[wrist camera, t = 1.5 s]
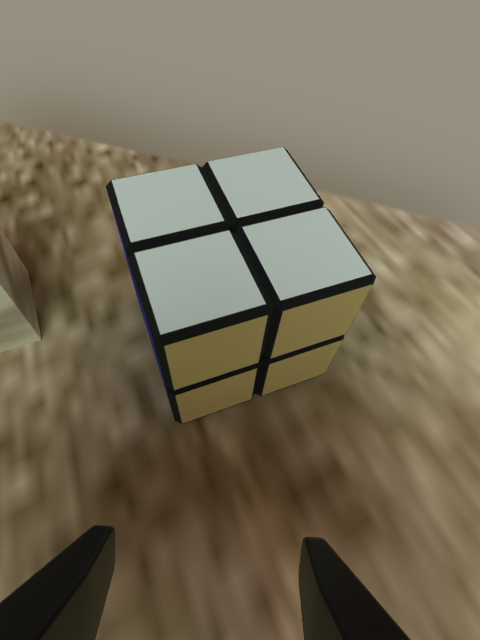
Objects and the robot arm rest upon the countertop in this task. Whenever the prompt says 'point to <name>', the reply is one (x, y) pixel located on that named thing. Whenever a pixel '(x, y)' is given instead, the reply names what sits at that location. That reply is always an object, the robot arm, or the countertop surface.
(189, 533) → the countertop surface
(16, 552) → the countertop surface
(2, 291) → the maple block
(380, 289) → the countertop surface
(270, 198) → the puzzle cube
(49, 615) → the robot arm
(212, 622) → the countertop surface
